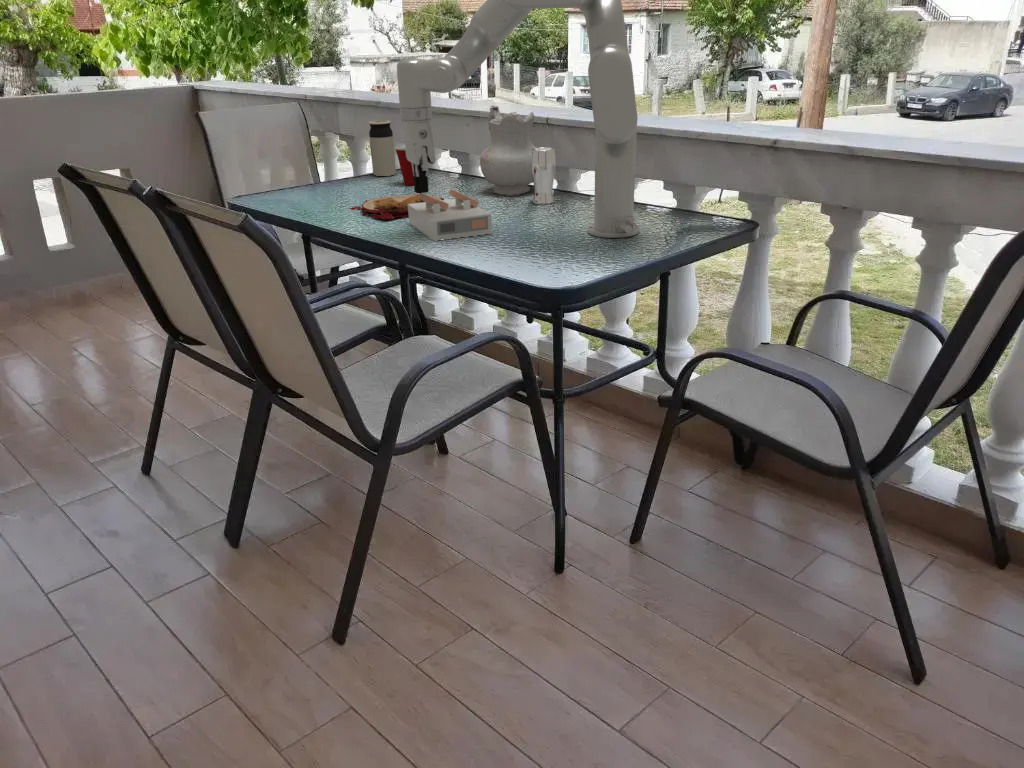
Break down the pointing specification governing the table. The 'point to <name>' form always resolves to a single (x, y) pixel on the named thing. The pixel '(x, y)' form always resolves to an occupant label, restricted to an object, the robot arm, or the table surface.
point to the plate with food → (390, 206)
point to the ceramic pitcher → (508, 153)
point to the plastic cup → (405, 166)
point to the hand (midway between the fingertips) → (421, 192)
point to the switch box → (450, 219)
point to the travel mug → (382, 148)
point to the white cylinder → (543, 174)
